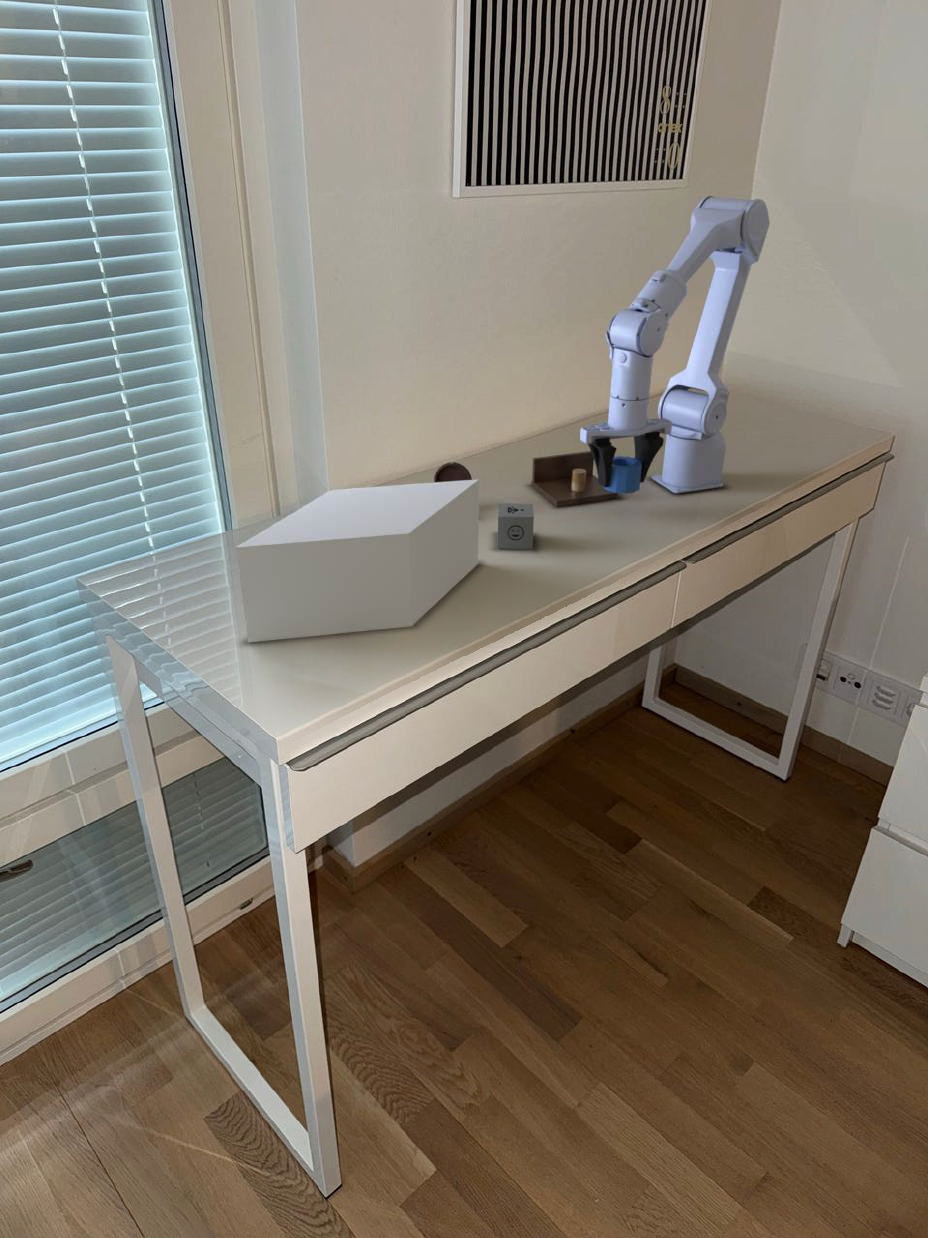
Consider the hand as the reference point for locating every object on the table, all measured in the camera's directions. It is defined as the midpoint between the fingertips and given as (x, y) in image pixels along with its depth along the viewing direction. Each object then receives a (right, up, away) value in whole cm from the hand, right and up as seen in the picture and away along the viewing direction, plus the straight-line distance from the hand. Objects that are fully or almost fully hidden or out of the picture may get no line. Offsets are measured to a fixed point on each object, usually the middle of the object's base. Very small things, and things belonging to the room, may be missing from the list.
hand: (621, 482), depth 141 cm
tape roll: (0, -1, 0) cm, 1 cm away
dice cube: (-17, -10, -8) cm, 21 cm away
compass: (-26, -5, +1) cm, 27 cm away
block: (-36, -19, -23) cm, 47 cm away
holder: (-6, 0, +10) cm, 11 cm away
